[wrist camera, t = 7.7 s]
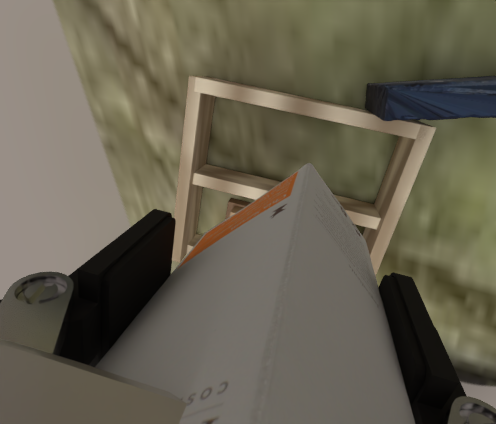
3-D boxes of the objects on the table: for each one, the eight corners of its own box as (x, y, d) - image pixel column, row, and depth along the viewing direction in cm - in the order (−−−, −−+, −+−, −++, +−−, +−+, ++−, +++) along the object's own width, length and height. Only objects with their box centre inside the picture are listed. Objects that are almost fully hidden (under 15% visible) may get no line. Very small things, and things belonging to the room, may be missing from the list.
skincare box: (309, 157, 13) (252, 517, 2) (367, 239, 14) (551, 833, 3) (199, 232, 15) (-107, 598, 4) (254, 299, 16) (109, 762, 5)
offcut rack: (418, 121, 31) (436, 127, 27) (355, 285, 39) (360, 312, 34) (206, 76, 33) (189, 75, 29) (186, 239, 41) (169, 259, 36)
